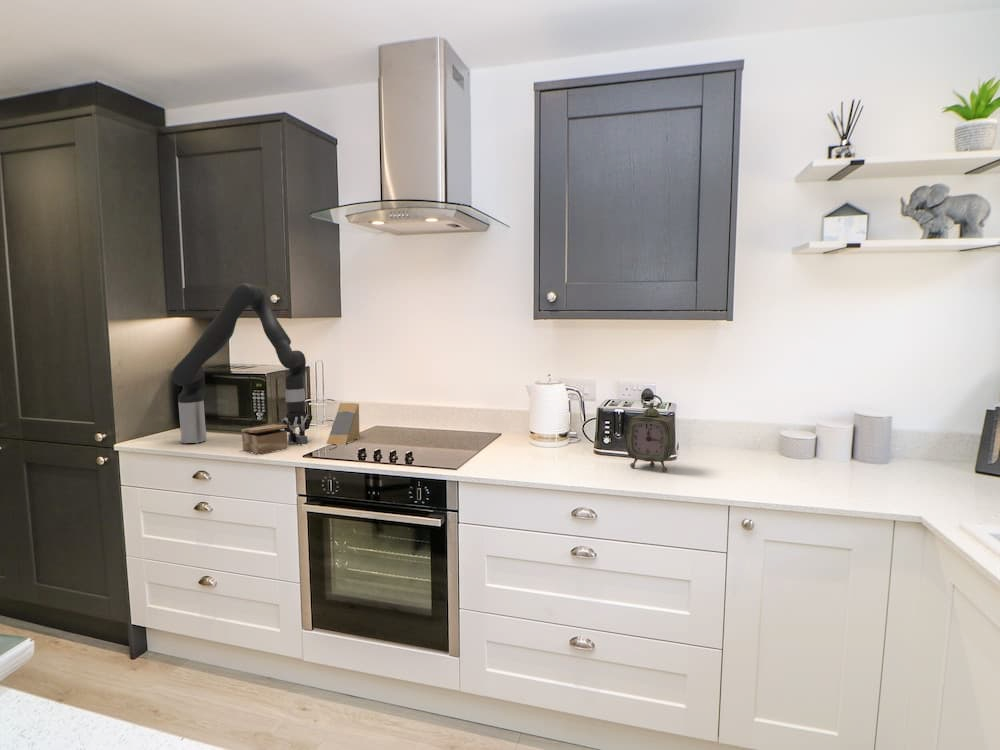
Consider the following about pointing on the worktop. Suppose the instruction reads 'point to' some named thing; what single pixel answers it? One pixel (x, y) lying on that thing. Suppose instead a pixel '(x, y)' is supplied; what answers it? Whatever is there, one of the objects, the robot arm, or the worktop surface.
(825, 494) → the worktop surface
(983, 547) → the worktop surface
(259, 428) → the lid
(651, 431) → the tabletop clock
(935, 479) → the worktop surface
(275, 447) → the carton
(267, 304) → the robot arm
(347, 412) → the sandwich container
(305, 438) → the gray rectangular block
